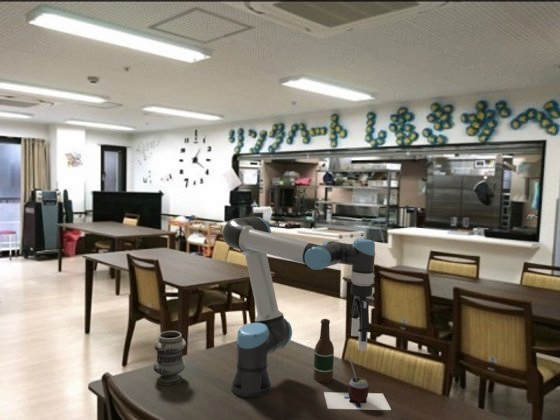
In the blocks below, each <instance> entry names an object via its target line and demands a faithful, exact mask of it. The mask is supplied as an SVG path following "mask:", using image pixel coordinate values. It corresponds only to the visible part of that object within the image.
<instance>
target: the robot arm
mask: <svg viewBox="0 0 560 420" xmlns="http://www.w3.org/2000/svg"><path fill="white" fill-rule="evenodd" d="M222 239H223V240H224V242H225V244H226V245H227V246H229V247H230V248H231V249H232V248H233V249H236V250H239V251H240V253H241V254H242V255H243V256H245V261H246V265H247V266H246V267H247V271H248V275H249V280H250V285H251V289H252V295H253V298H254V299H253V301H254V304H255V309H256V313H257V314H256V317H255V319H254V322H252V323H246V324H244V325H242V326H241V327H239V329H238V330H237V337H236V369H235V372H234V375H233V377H232V380H231V383H230V385H231V387H230V388H231V391H232V393H233V394H235V395H236V396H239V397H242V398H248V399H249V398H251V399H253V398H260V397H264V396H267V395H268V394H270V393H271V392H272V387H273V386H272V385H273V383H272V380H271V375H270V371H269V369H268V364H269V356H271V355H272V354H274V353H275V352H277V351H279V350H281V349H284V348H285V347H286V346H287V345H288V344H289V343H290V341H291V340H292V337H293V329H292V325H291V323H290V322H289V321H288V319H286V318H285V316H284V313H283V312H282V311H280V310H279V306H278V301H277V297H276V293H275V288H274V283H273V278H272V273H271V269H270V263H269V259H268V255H270V256H274V257H278V258H281V259H285V260H289V261H292V262H296V263H300V264H304V265H307V267H308V268H310V269H311V270H315V271H317V270H318V271H319V270H324V269H326V268H328V267H332V266H335V265H337V264H342V265H348V266H351V278H350V281H351V282H352V283H351V284H350V294H351V296H353V300H352V306H351V311H350V313H351V331H350V332H351V333H350V335H351V337H358V343H357V344H358V345H357V350H358V351H367V348H368V347H367V346H368V334H369V332H370V313H369V310H370V308H369V306H370V303H369V301H368V300H367V298H368V297H369V298H370V297H371V296H373V289H374V288H373V287H374V286H373V285H372V284H373V283H374V278H375V277H376V275H375V274H374V272H375V271H374V269H375V258H376V257H375V256H376V243H375V241H374V240H371V239H368V238H367V239H366V238H364V239H363V238H356V239H354V240H353V243H346V242H339V241H333V240H326V241H323V243H322V244H318V243H317V244H316V243H311V242H307V241H305V240H299V239H297V238H296V239H295V238H291V237H286V236H284V235H283V236H282V235H279V234H275V233H272V229H271V227H270V224H269V223H268V222H267V220H266V219H264V218H262V217H259V216H247V217H237V218H233V219H230V220H228V222H226V224H225V225H224V227H223V230H222Z"/></svg>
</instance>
